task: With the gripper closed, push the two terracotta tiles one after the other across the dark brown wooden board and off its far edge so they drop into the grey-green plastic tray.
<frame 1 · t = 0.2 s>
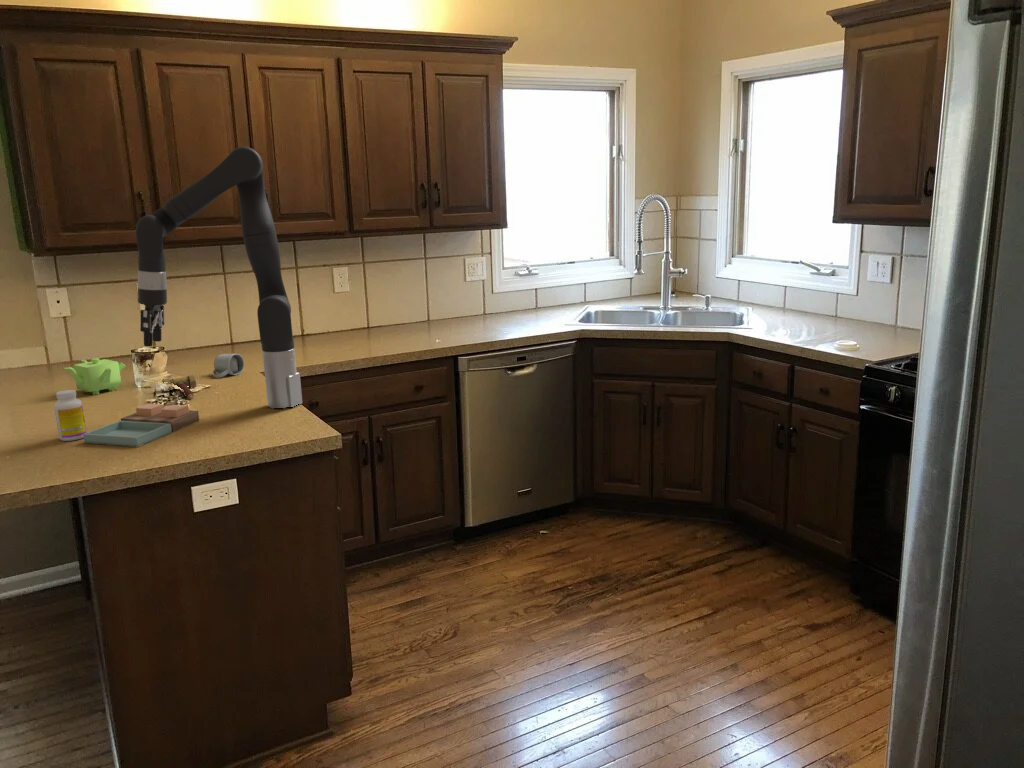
hand: (152, 343, 233), 22 cm above the worktop, tool pointing down, fingers open, 8 cm apart
tray: (128, 437, 217), on the worktop
dark brown wooden board: (161, 424, 229), on the worktop
tile a: (175, 414, 228), point 3 cm above the worktop, touching dark brown wooden board
gavel: (185, 395, 265), on the worktop
tile b: (150, 413, 230), point 3 cm above the worktop, touching dark brown wooden board
supplement bottle: (73, 438, 219), on the worktop
kettle: (98, 391, 273), on the worktop
ceramic mug: (227, 375, 291), on the worktop
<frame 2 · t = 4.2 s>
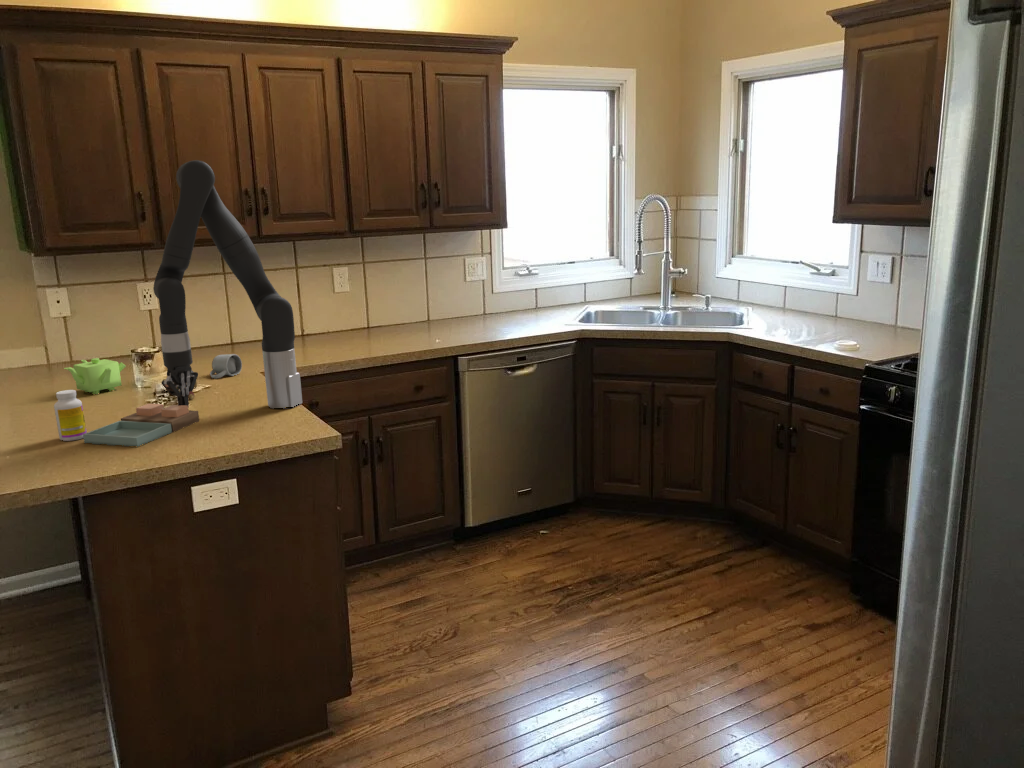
hand: (184, 408, 231), 4 cm above the worktop, tool pointing down, fingers closed
tile a: (175, 414, 228), point 3 cm above the worktop, touching gripper
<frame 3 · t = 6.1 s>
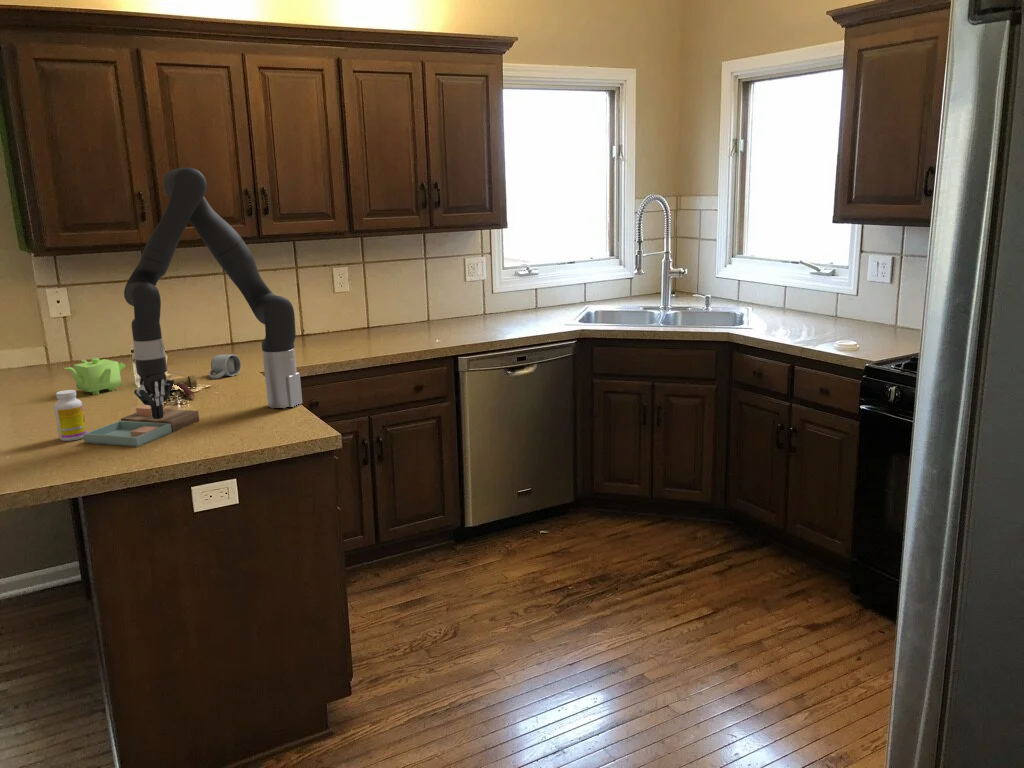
hand: (158, 418, 222), 4 cm above the worktop, tool pointing down, fingers closed
tile a: (145, 429, 216), point 2 cm above the worktop, tilted 180°, touching tray
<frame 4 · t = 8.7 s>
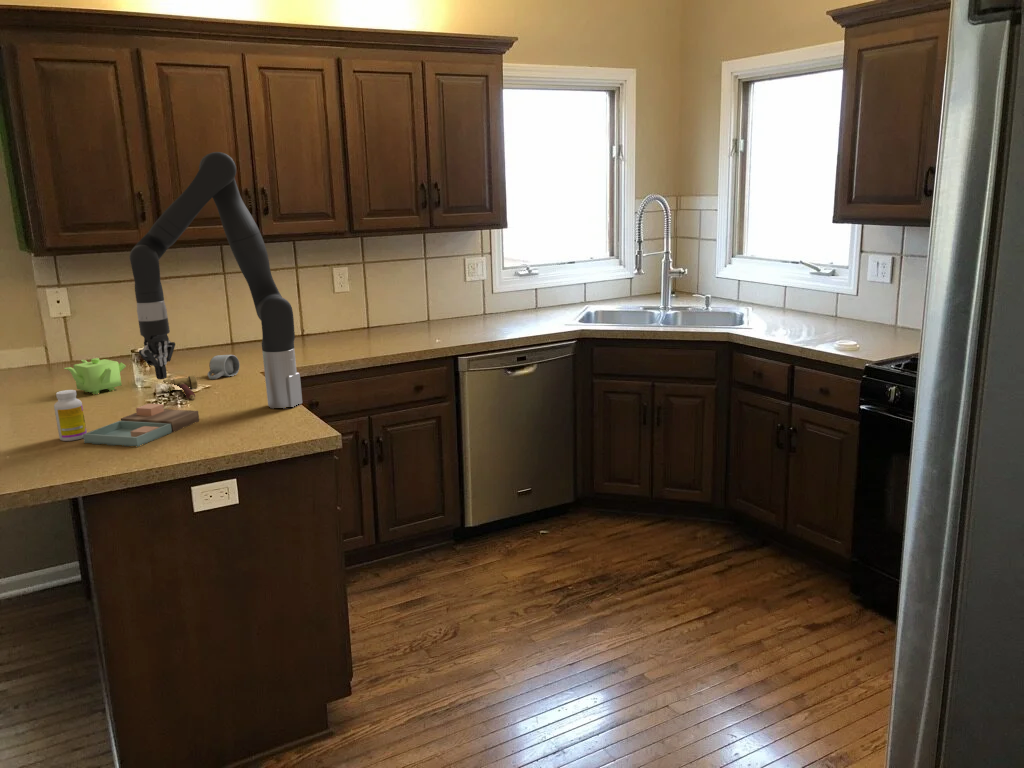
hand: (162, 378, 229), 13 cm above the worktop, tool pointing down, fingers closed
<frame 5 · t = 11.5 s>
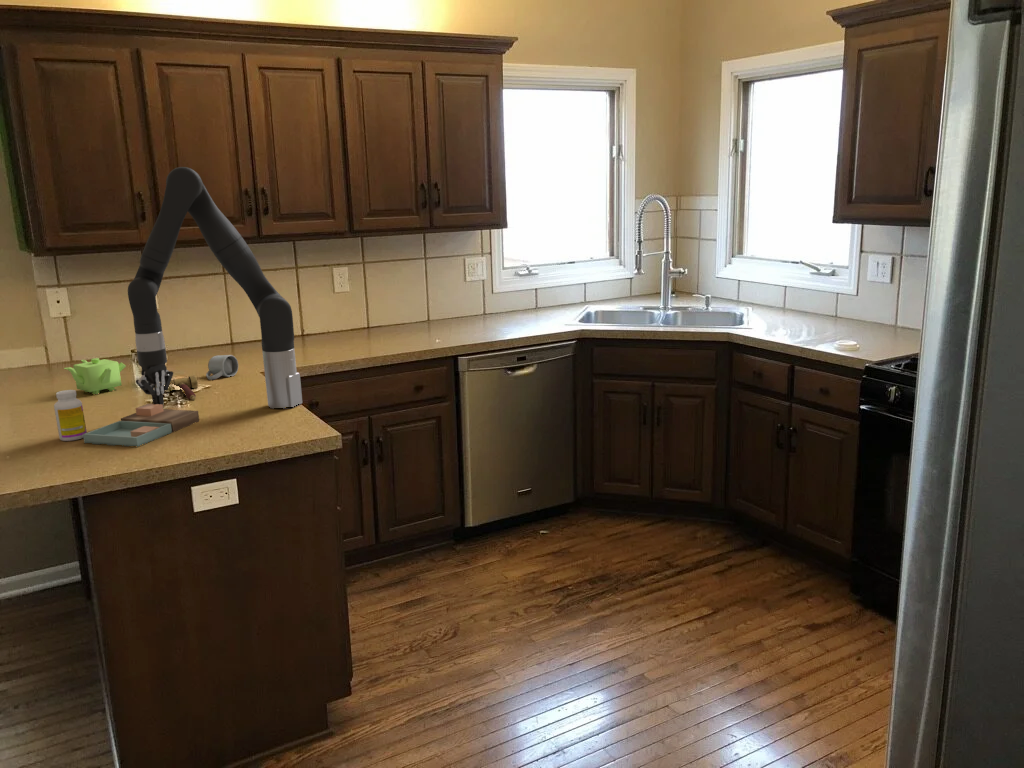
hand: (159, 407, 234), 4 cm above the worktop, tool pointing down, fingers closed
tile b: (150, 413, 230), point 3 cm above the worktop, touching gripper
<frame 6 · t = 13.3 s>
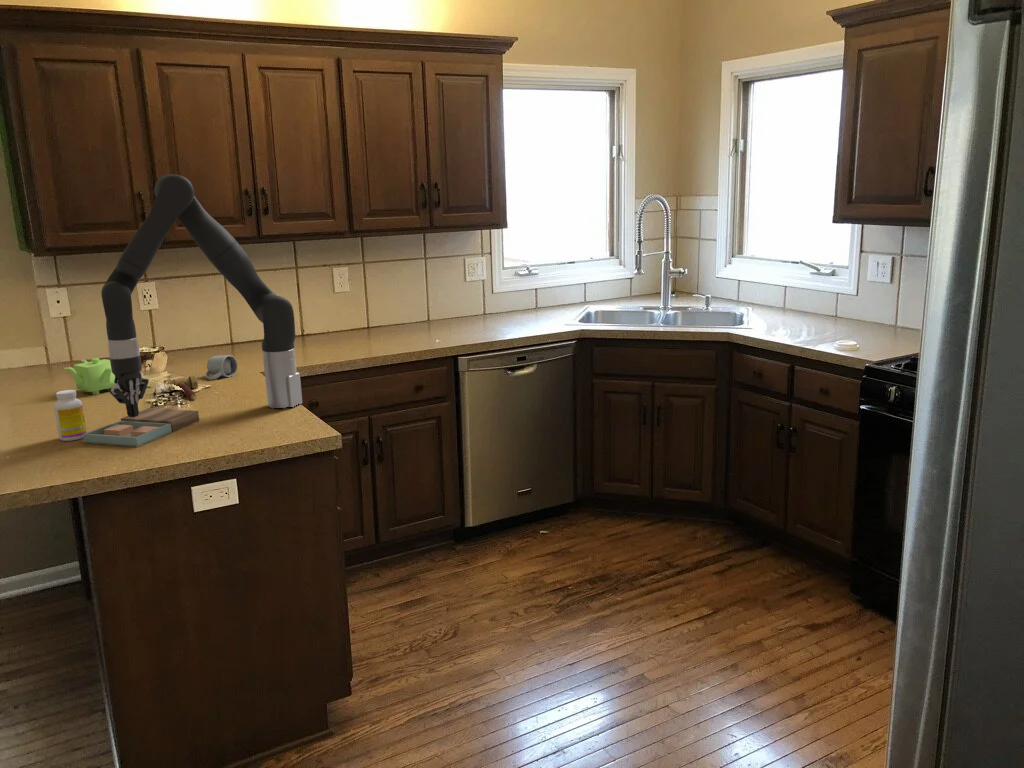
hand: (133, 416, 224), 4 cm above the worktop, tool pointing down, fingers closed
tile b: (118, 427, 218), point 2 cm above the worktop, tilted 180°, touching tray
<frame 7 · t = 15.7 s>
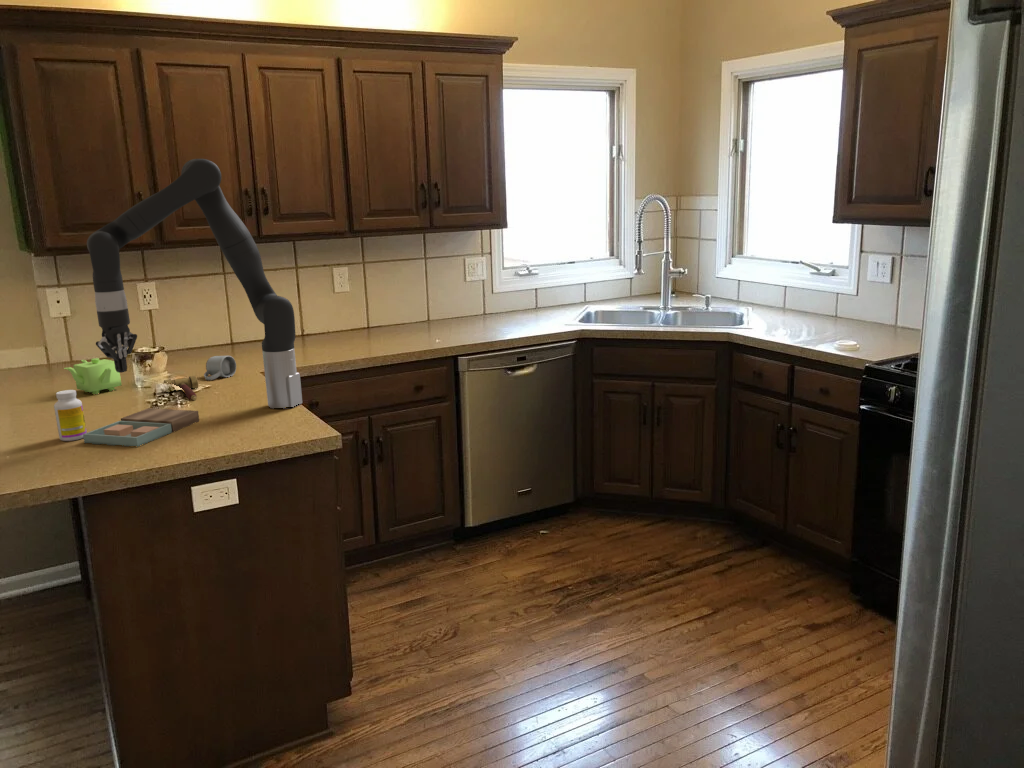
hand: (121, 371, 219), 17 cm above the worktop, tool pointing down, fingers closed
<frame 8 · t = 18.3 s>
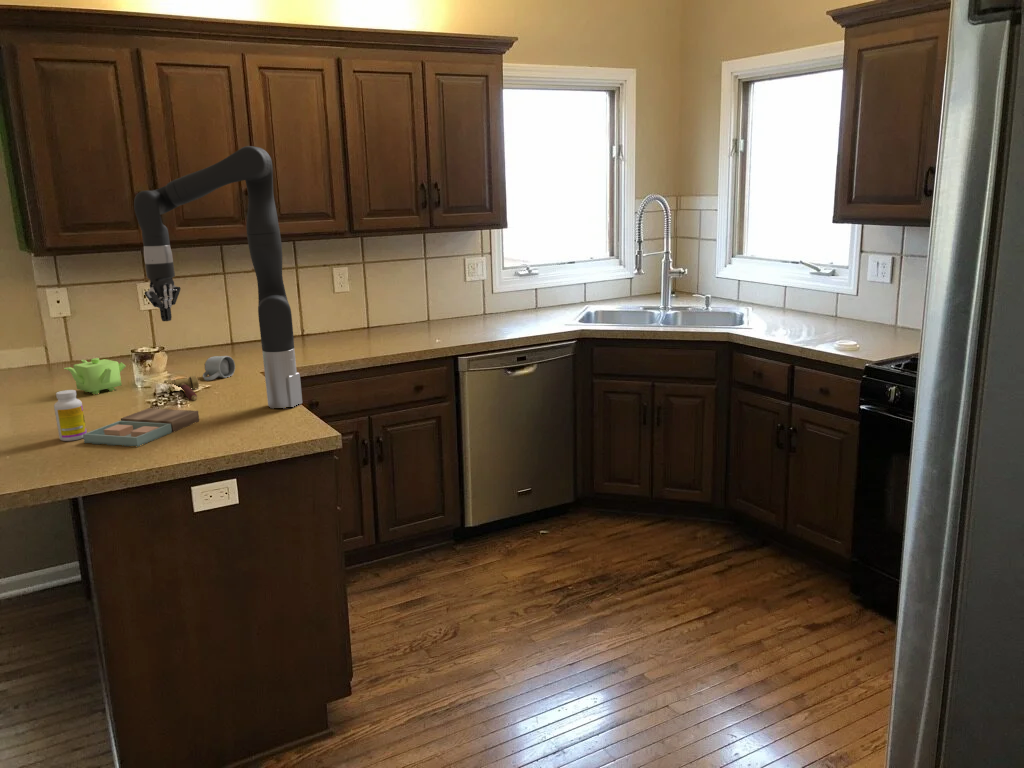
hand: (166, 320, 239), 27 cm above the worktop, tool pointing down, fingers closed
at the end: tile a inside the target area on the tray (5.0 cm from its centre), point 2.5 cm above the tray's base; tile b inside the target area on the tray (3.7 cm from its centre), point 2.5 cm above the tray's base; tile b touching tray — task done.
